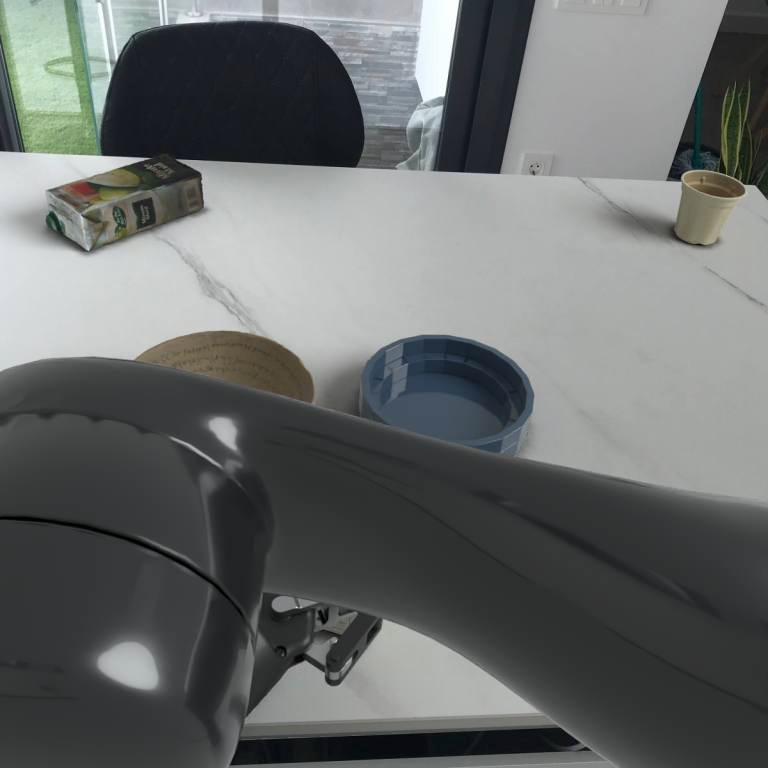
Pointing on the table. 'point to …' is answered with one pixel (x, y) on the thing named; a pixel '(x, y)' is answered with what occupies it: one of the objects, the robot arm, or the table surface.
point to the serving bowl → (449, 392)
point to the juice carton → (124, 201)
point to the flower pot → (706, 205)
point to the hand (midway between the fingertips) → (348, 528)
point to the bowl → (237, 361)
